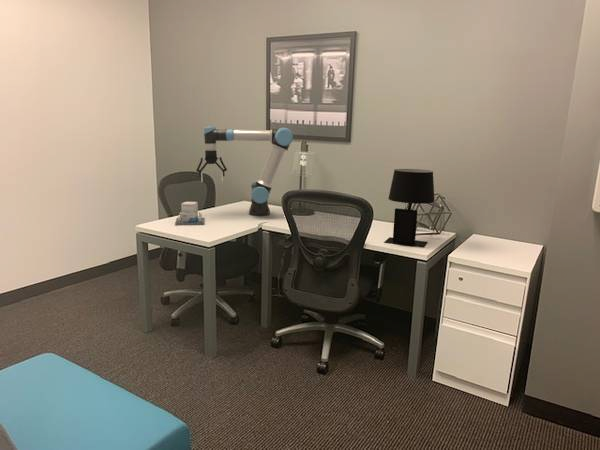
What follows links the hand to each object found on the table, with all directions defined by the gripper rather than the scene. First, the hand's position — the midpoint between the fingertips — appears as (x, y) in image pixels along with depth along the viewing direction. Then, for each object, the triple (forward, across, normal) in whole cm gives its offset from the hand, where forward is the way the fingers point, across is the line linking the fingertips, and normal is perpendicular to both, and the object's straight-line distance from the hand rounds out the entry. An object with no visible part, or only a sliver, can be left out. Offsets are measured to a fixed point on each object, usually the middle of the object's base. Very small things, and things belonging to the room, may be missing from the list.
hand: (212, 181), depth 307 cm
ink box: (+23, +16, +16) cm, 32 cm away
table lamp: (+28, -105, +81) cm, 136 cm away
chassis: (+24, +16, +16) cm, 33 cm away
